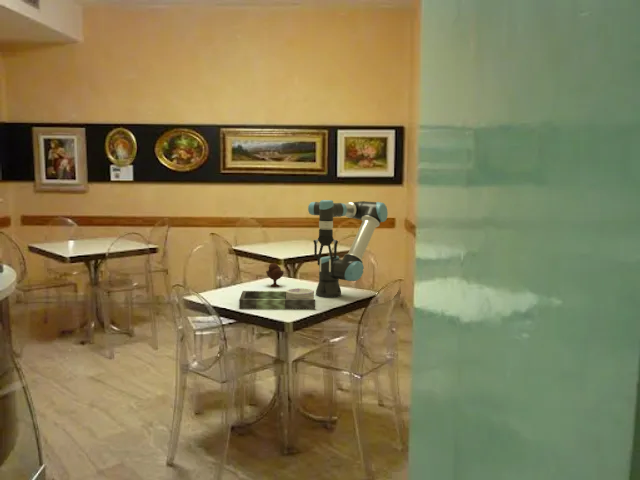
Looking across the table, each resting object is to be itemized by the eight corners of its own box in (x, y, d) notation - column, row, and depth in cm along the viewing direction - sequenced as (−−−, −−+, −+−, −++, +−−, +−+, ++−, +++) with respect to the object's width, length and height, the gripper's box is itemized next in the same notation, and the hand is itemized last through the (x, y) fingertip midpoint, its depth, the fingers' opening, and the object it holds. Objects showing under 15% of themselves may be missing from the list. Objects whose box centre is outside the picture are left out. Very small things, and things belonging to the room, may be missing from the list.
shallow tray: (313, 300, 326) (313, 291, 325) (315, 309, 304) (315, 300, 304) (242, 299, 324) (242, 290, 323) (239, 308, 302) (239, 299, 302)
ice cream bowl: (283, 288, 358) (283, 264, 356) (265, 287, 358) (265, 263, 356) (284, 284, 369) (284, 261, 367) (266, 284, 369) (267, 261, 367)
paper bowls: (295, 300, 325) (295, 286, 324) (318, 303, 317) (319, 289, 316) (280, 305, 312) (280, 291, 311) (304, 309, 304) (304, 294, 303)
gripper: (309, 229, 306) (309, 272, 309) (342, 229, 307) (341, 272, 310) (309, 227, 314) (308, 269, 316) (341, 228, 315) (340, 270, 317)
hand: (325, 271), depth 313 cm, fingers open, 4 cm apart
